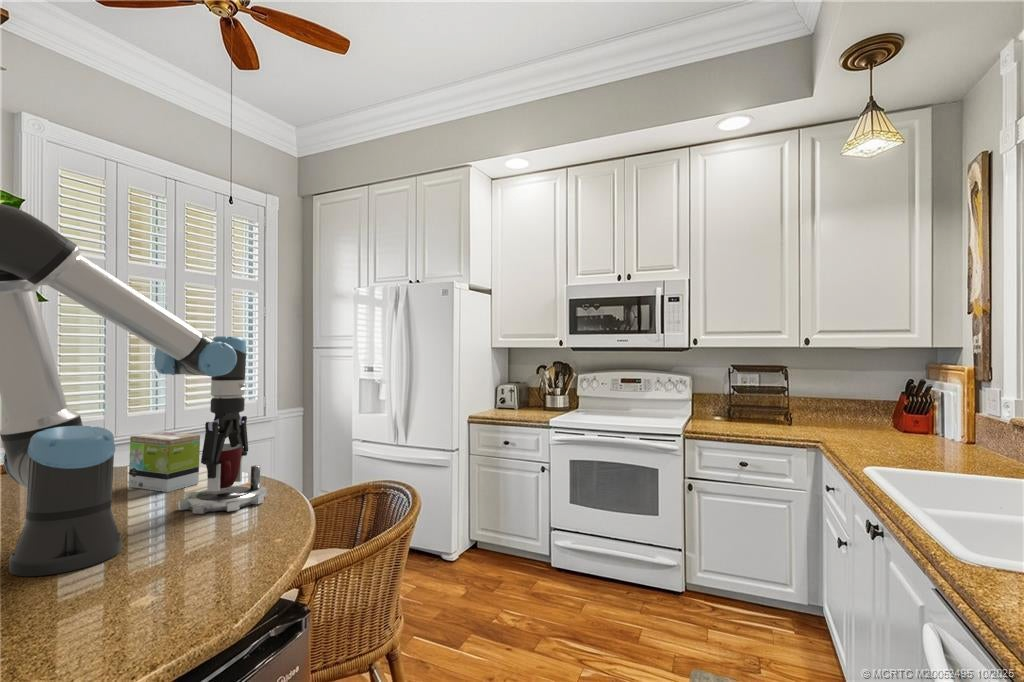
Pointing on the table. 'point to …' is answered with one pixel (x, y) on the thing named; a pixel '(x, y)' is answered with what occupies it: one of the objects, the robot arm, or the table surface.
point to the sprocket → (226, 496)
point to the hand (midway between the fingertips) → (225, 485)
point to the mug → (229, 464)
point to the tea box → (164, 461)
